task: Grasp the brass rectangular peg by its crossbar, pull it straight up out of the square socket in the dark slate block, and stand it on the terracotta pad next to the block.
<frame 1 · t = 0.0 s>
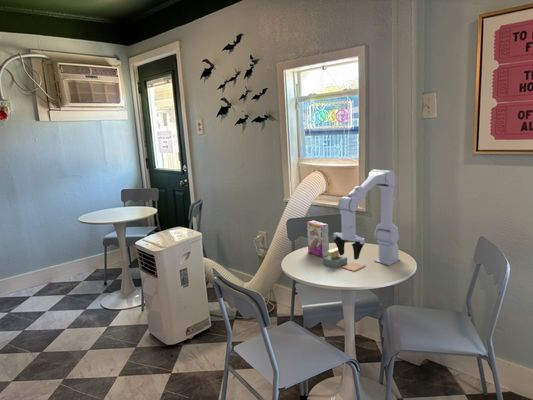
hand: (349, 256, 163), 10 cm above the table, fingers open, 7 cm apart
slate socket block: (335, 263, 183), on the table
candy bar box: (318, 254, 197), on the table
brass rectangular peg: (335, 256, 182), in the slate socket block
terracotta pad: (353, 267, 178), on the table
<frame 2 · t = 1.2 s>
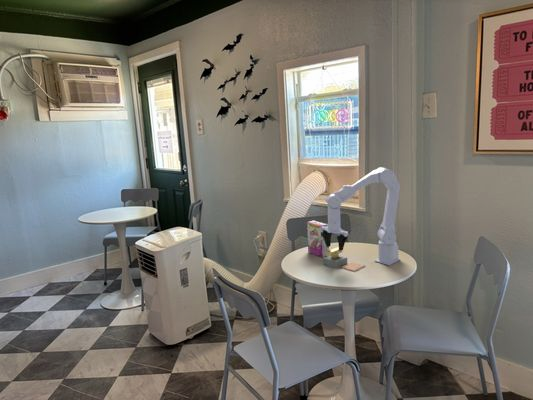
hand: (334, 248, 181), 8 cm above the table, fingers open, 7 cm apart
nothing on the table moved.
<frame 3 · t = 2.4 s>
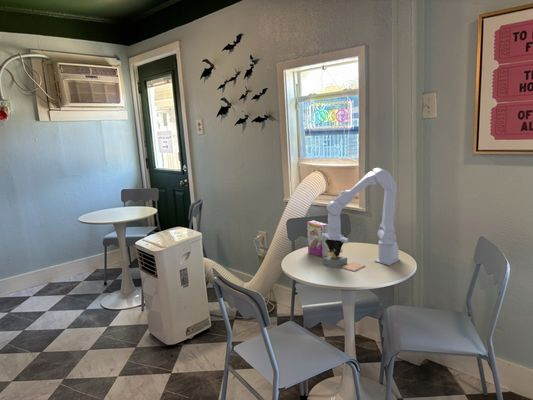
hand: (334, 254, 182), 4 cm above the table, fingers closed on brass rectangular peg, 2 cm apart
brass rectangular peg: (335, 256, 182), in the slate socket block, touching gripper
everything else where it was.
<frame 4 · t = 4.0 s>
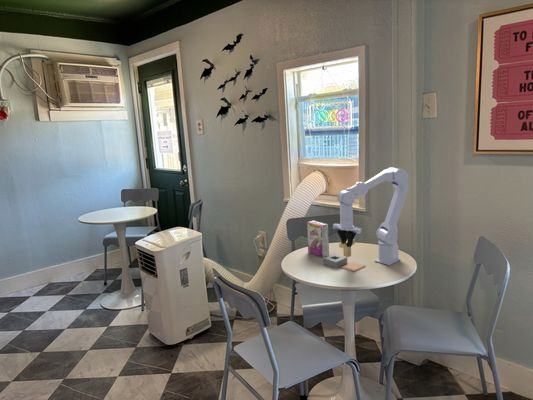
hand: (347, 245, 177), 10 cm above the table, fingers closed on brass rectangular peg, 2 cm apart
brass rectangular peg: (347, 248, 178), point 8 cm above the table, touching gripper
everything else where it was.
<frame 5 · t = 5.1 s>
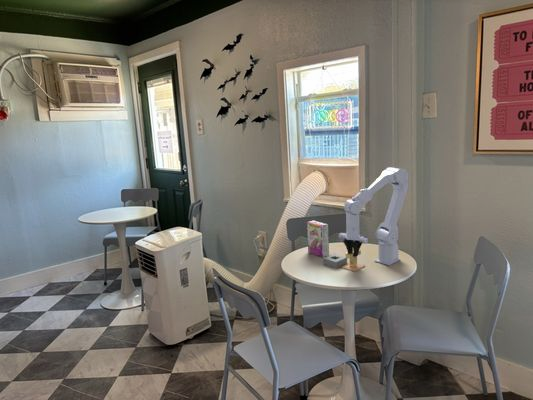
hand: (353, 255, 176), 6 cm above the table, fingers closed on brass rectangular peg, 2 cm apart
brass rectangular peg: (353, 258, 177), point 4 cm above the table, touching gripper
everything else where it was.
when the fingers open (6 cm above the table, at t = 5.7 s): brass rectangular peg stays where it is, resting on terracotta pad.
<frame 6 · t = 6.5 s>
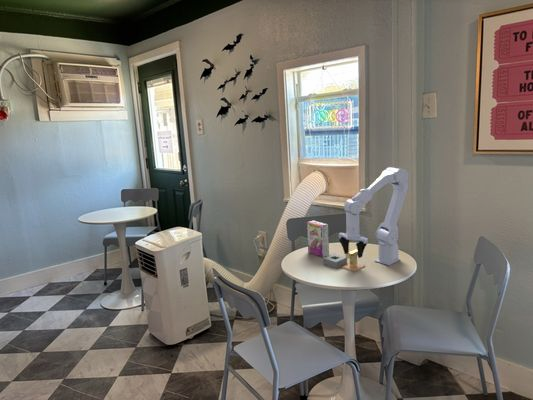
hand: (353, 255, 176), 6 cm above the table, fingers open, 7 cm apart
brass rectangular peg: (353, 259, 177), on the terracotta pad
everything else where it was.
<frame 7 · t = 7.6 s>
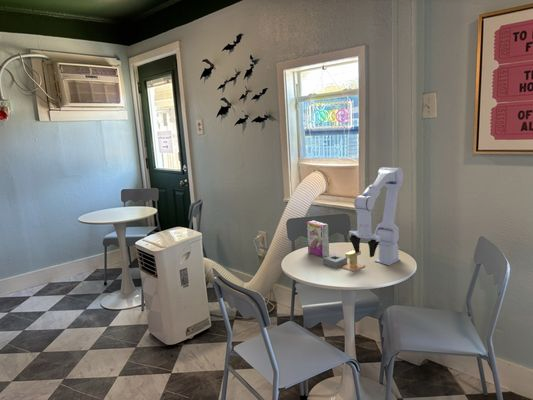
hand: (364, 254, 166), 9 cm above the table, fingers open, 7 cm apart
nothing on the table moved.
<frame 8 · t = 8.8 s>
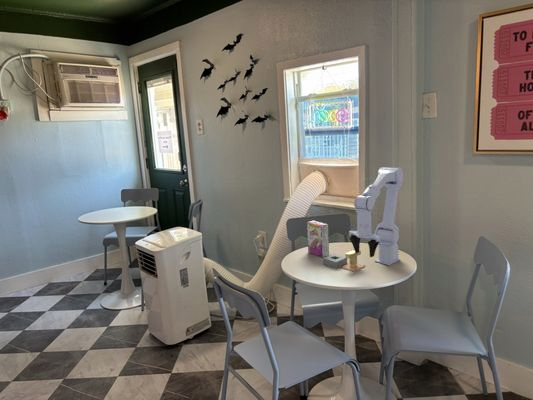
hand: (364, 254, 166), 9 cm above the table, fingers open, 7 cm apart
nothing on the table moved.
at the end: brass rectangular peg 0.0 cm off-centre on the terracotta pad, point 4.0 cm above the terracotta pad's base; brass rectangular peg tilted 0°; the gripper is holding nothing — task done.
